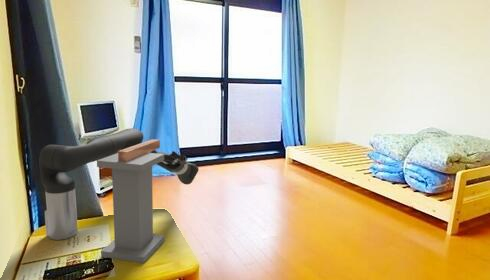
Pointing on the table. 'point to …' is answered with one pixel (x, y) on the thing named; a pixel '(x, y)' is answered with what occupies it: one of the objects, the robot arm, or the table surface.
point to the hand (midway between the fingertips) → (162, 152)
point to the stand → (132, 208)
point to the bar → (138, 150)
